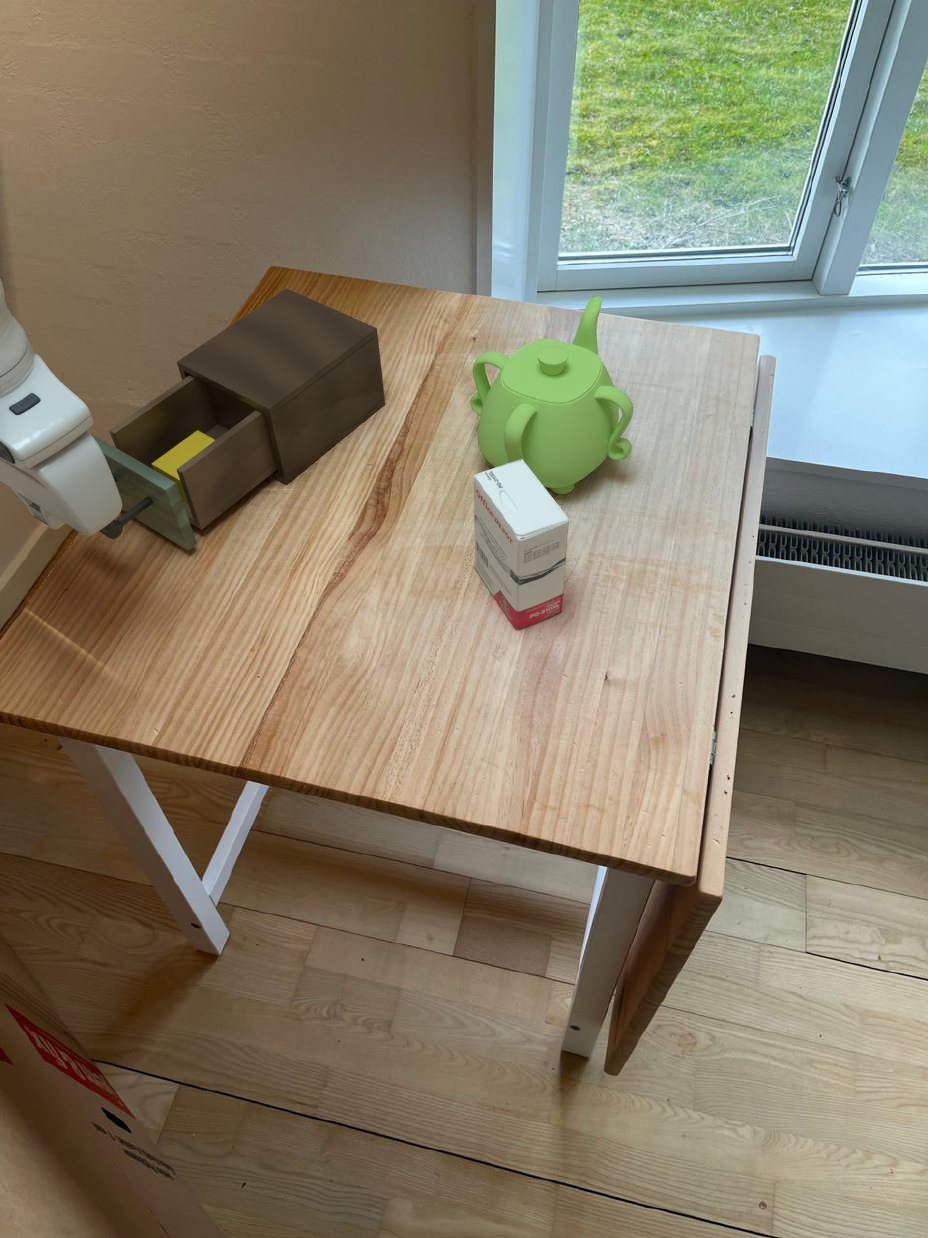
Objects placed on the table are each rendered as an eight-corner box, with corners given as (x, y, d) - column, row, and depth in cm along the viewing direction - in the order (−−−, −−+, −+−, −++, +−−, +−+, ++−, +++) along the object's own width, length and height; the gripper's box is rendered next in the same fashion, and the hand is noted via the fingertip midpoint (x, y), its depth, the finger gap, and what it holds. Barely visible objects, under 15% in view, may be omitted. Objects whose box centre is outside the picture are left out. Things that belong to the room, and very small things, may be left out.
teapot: (462, 413, 102) (458, 309, 92) (590, 394, 103) (600, 290, 93) (493, 517, 92) (492, 413, 82) (634, 495, 93) (650, 390, 83)
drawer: (144, 586, 86) (118, 525, 80) (64, 533, 91) (34, 472, 84) (294, 465, 96) (280, 403, 90) (215, 422, 100) (197, 361, 94)
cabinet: (286, 485, 95) (268, 409, 88) (199, 437, 100) (176, 361, 93) (385, 404, 103) (377, 327, 95) (300, 363, 108) (286, 287, 100)
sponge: (187, 503, 91) (179, 480, 89) (159, 486, 93) (151, 463, 90) (232, 468, 94) (225, 445, 92) (204, 453, 96) (197, 429, 93)
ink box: (564, 612, 84) (573, 518, 75) (515, 632, 83) (517, 539, 74) (519, 549, 89) (522, 454, 80) (472, 567, 88) (469, 473, 79)
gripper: (-134, 360, 73) (-51, 491, 84) (31, 464, 65) (99, 594, 76) (-62, 320, 76) (8, 451, 87) (104, 414, 68) (158, 546, 79)
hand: (52, 518), depth 81 cm, fingers closed
